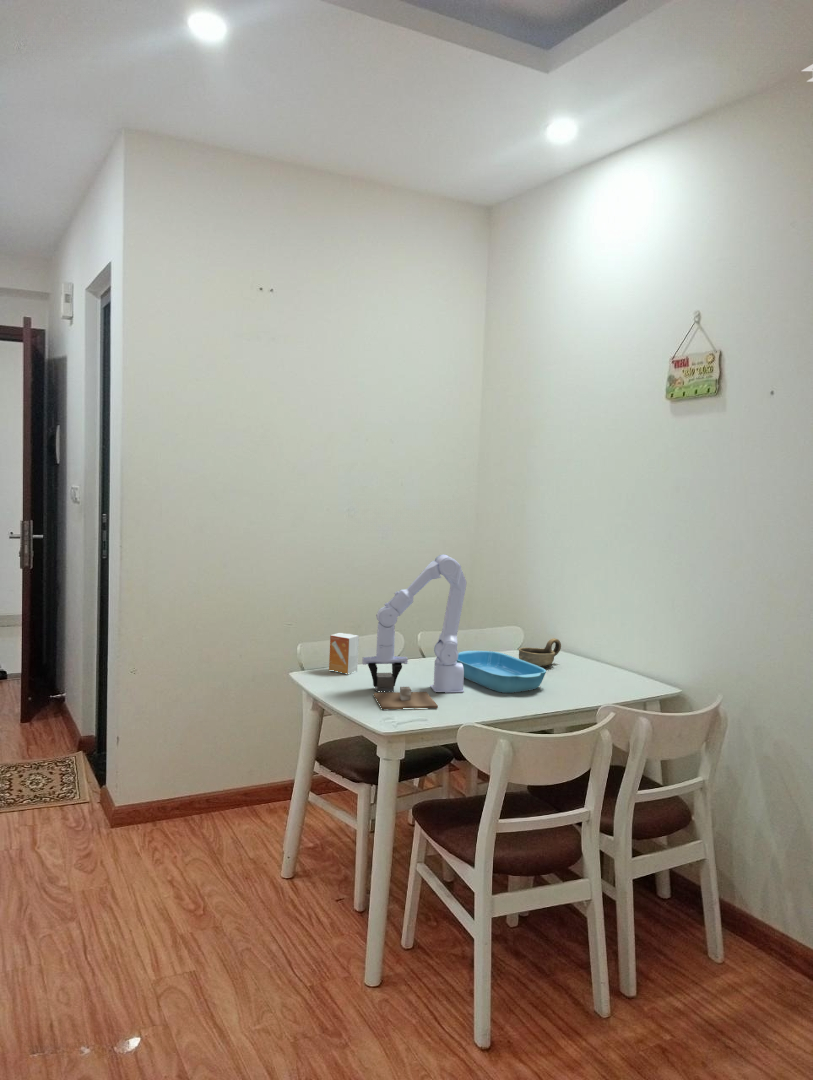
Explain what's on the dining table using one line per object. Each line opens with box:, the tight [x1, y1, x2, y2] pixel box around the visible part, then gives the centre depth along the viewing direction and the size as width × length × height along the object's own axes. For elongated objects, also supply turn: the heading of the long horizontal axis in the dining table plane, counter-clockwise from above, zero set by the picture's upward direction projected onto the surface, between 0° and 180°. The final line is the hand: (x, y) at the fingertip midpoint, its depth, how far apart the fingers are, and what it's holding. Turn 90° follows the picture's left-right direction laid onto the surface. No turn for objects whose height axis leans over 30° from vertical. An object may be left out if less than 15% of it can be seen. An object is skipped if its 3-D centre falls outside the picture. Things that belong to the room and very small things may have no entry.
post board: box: [373, 686, 439, 710], centre depth 249 cm, size 17×15×4 cm
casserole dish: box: [457, 650, 547, 694], centre depth 278 cm, size 37×22×7 cm, turn 32°
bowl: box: [518, 637, 562, 667], centre depth 303 cm, size 14×18×10 cm
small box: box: [328, 632, 360, 674], centre depth 282 cm, size 8×6×13 cm
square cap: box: [374, 672, 395, 693], centre depth 261 cm, size 5×5×5 cm
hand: (384, 685), depth 262 cm, fingers closed on square cap, 5 cm apart
